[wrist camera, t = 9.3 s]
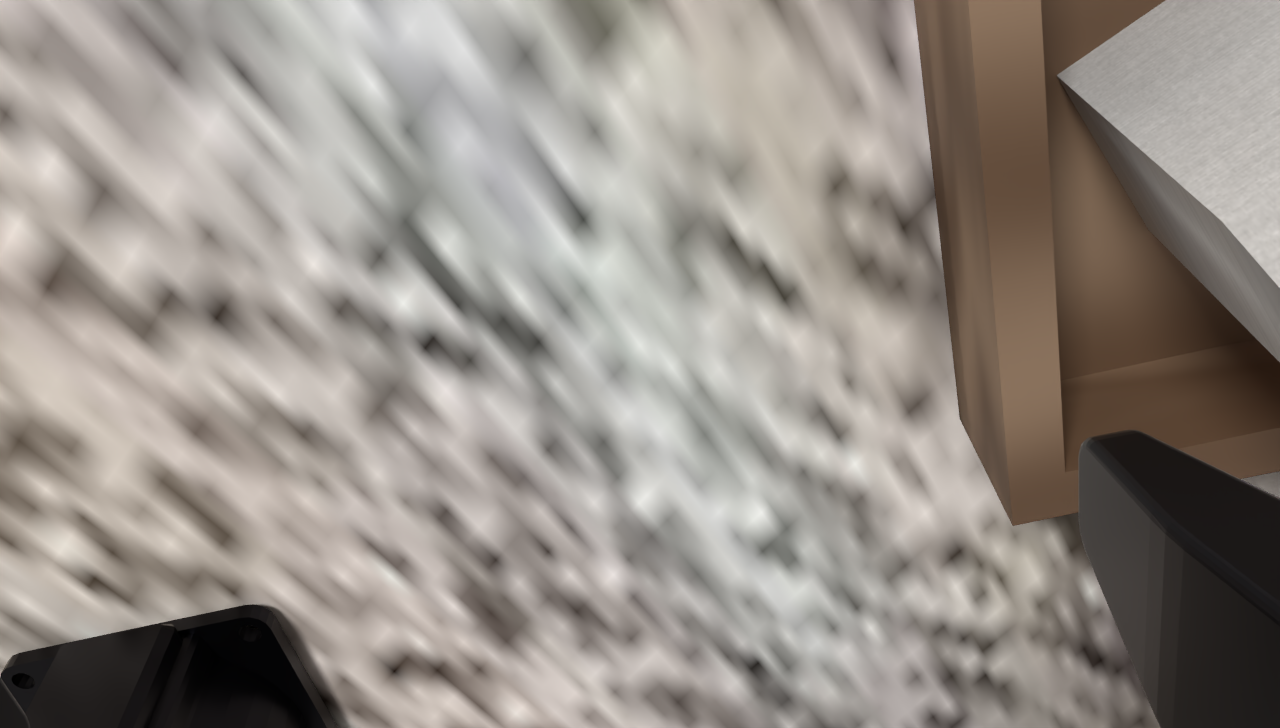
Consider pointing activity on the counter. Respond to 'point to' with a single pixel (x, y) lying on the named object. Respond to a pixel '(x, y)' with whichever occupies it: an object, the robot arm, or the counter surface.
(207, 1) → the counter surface
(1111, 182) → the walnut tray
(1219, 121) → the tea bag
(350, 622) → the counter surface
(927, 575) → the counter surface
